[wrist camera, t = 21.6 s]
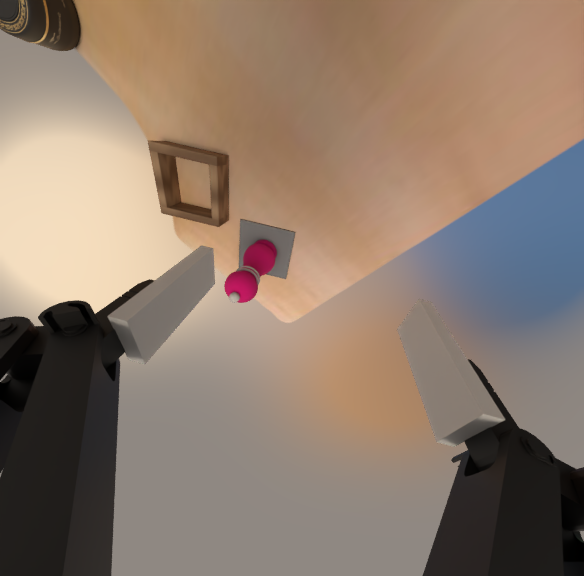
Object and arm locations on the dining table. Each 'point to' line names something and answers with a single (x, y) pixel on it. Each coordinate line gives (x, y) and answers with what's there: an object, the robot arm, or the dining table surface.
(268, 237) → the mat
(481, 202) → the dining table surface
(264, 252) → the pepper mill
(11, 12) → the jar
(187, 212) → the walnut box
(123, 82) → the dining table surface
